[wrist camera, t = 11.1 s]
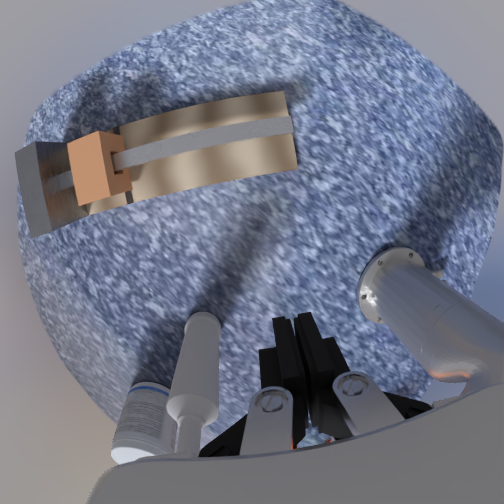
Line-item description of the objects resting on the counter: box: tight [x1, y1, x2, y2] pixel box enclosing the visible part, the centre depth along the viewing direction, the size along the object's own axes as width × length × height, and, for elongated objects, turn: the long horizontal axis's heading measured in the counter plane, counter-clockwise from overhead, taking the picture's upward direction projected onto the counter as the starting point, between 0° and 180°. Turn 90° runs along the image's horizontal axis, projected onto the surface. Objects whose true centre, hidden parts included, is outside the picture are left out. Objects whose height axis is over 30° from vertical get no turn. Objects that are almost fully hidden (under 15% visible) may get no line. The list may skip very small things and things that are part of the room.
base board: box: [86, 91, 298, 215], centre depth 32 cm, size 31×10×1 cm, turn 100°
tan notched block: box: [67, 131, 133, 206], centre depth 27 cm, size 4×7×7 cm, turn 10°
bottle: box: [166, 312, 221, 453], centre depth 28 cm, size 5×5×25 cm
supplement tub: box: [111, 382, 178, 465], centre depth 37 cm, size 10×10×15 cm
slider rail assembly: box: [15, 116, 294, 238], centre depth 28 cm, size 30×10×10 cm, turn 100°
